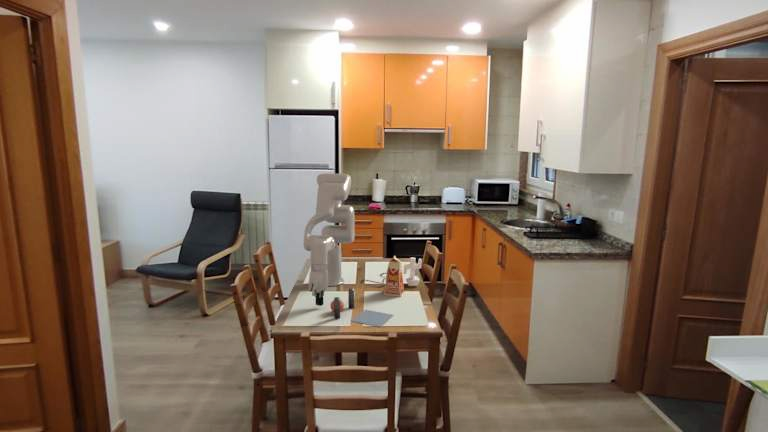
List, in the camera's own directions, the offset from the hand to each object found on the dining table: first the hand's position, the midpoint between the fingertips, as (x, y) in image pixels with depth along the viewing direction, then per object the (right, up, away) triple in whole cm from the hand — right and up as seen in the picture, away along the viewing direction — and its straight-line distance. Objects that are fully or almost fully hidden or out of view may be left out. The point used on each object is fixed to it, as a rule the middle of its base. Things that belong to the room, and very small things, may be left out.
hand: (319, 304), depth 205 cm
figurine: (+45, +4, +35) cm, 57 cm away
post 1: (+9, -4, -11) cm, 15 cm away
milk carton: (+35, +2, +22) cm, 41 cm away
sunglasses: (+28, +4, +40) cm, 49 cm away
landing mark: (+25, -4, -10) cm, 27 cm away
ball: (+9, 0, -5) cm, 10 cm away
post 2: (+15, -2, +1) cm, 15 cm away
